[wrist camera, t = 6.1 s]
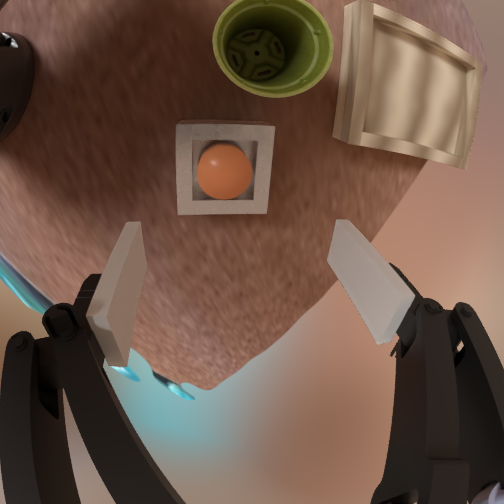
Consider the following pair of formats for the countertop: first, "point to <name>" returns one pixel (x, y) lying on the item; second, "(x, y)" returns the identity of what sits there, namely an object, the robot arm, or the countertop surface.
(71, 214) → the countertop surface
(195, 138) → the button housing
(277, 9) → the plant pot
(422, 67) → the tray
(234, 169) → the button
